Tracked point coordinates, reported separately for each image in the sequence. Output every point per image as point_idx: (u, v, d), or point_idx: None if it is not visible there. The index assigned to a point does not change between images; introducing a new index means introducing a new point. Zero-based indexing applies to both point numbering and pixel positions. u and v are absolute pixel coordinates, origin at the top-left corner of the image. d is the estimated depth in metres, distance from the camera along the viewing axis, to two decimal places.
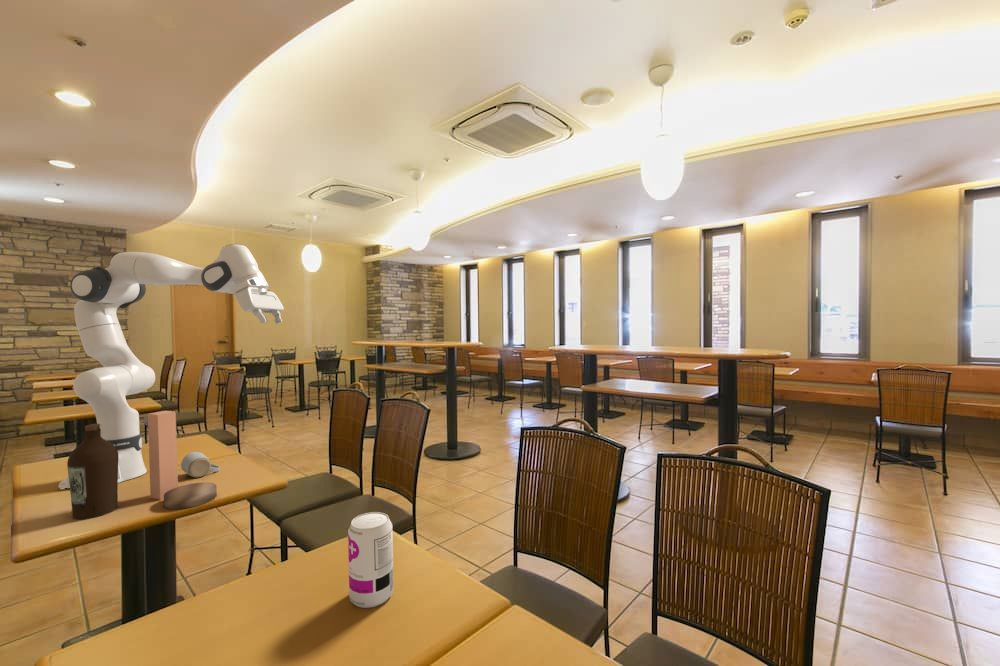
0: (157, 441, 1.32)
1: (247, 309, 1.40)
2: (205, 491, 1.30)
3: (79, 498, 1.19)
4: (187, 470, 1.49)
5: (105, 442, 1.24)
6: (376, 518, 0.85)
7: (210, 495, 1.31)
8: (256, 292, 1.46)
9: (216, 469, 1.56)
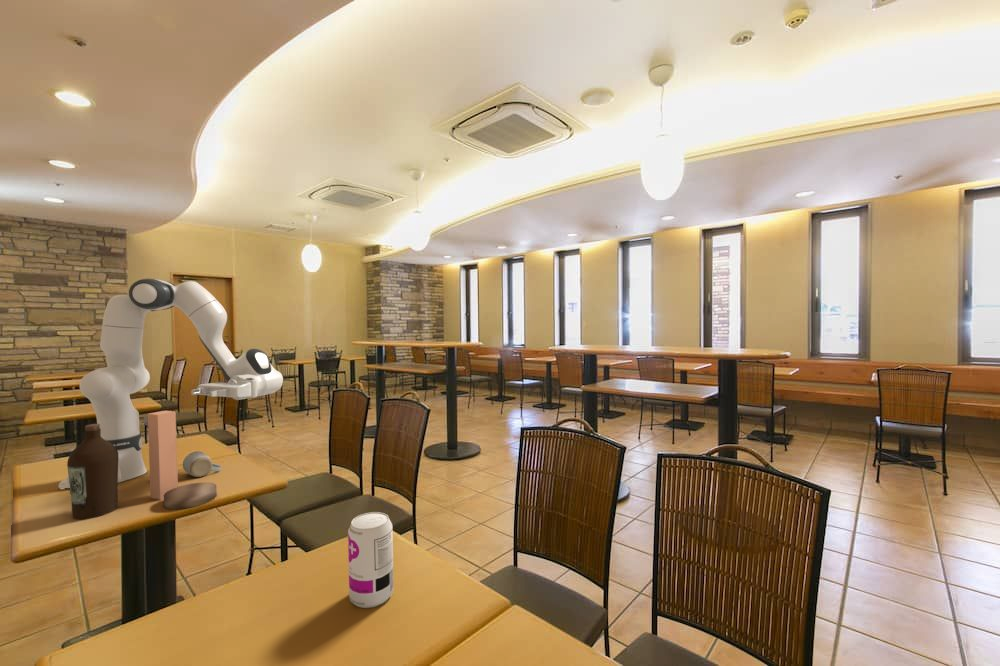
0: (157, 441, 1.32)
1: (235, 390, 1.46)
2: (205, 491, 1.30)
3: (79, 498, 1.19)
4: (189, 470, 1.49)
5: (105, 442, 1.24)
6: (376, 518, 0.85)
7: (210, 495, 1.31)
8: None
9: (217, 469, 1.56)
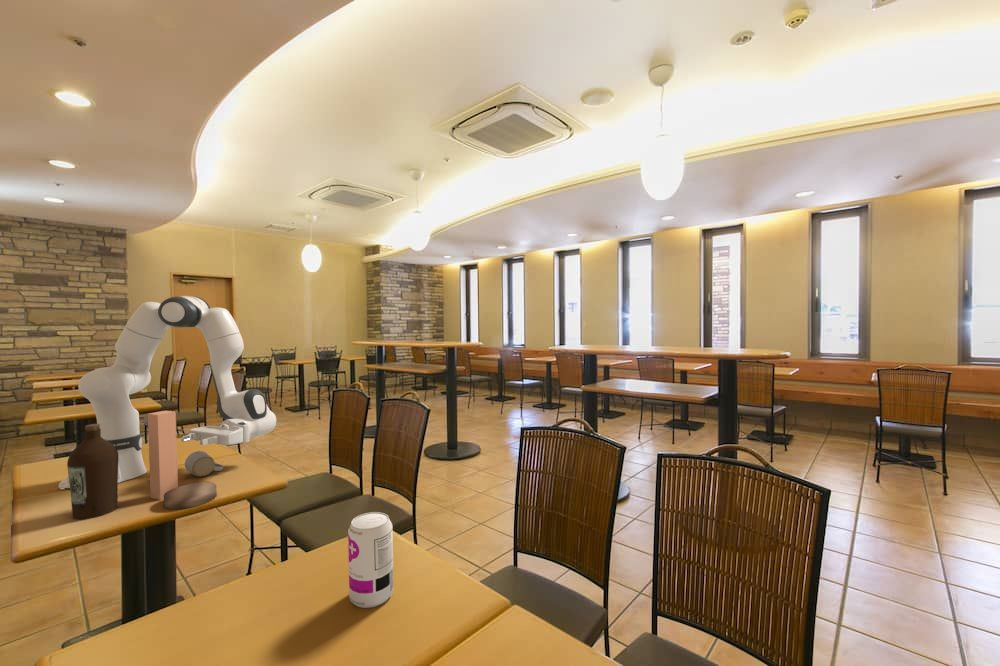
0: (157, 441, 1.32)
1: (226, 438, 1.44)
2: (205, 491, 1.30)
3: (79, 498, 1.19)
4: (191, 469, 1.50)
5: (105, 442, 1.24)
6: (376, 518, 0.85)
7: (210, 495, 1.31)
8: None
9: (220, 468, 1.56)
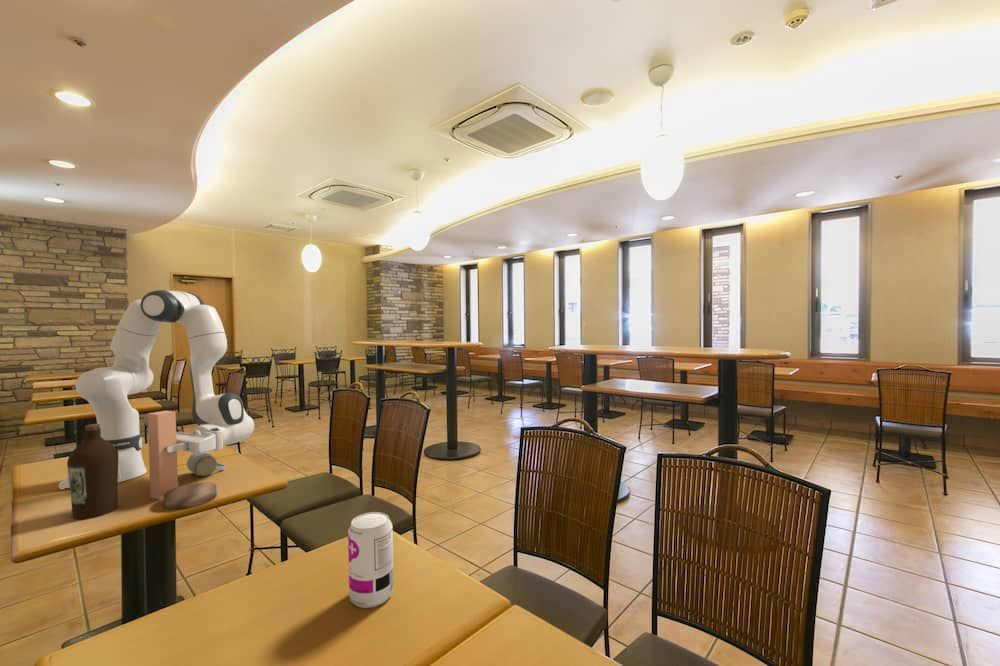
0: (157, 441, 1.32)
1: (196, 445, 1.35)
2: (205, 491, 1.30)
3: (79, 498, 1.19)
4: (193, 469, 1.50)
5: (105, 442, 1.24)
6: (376, 518, 0.85)
7: (210, 495, 1.31)
8: None
9: (222, 468, 1.57)
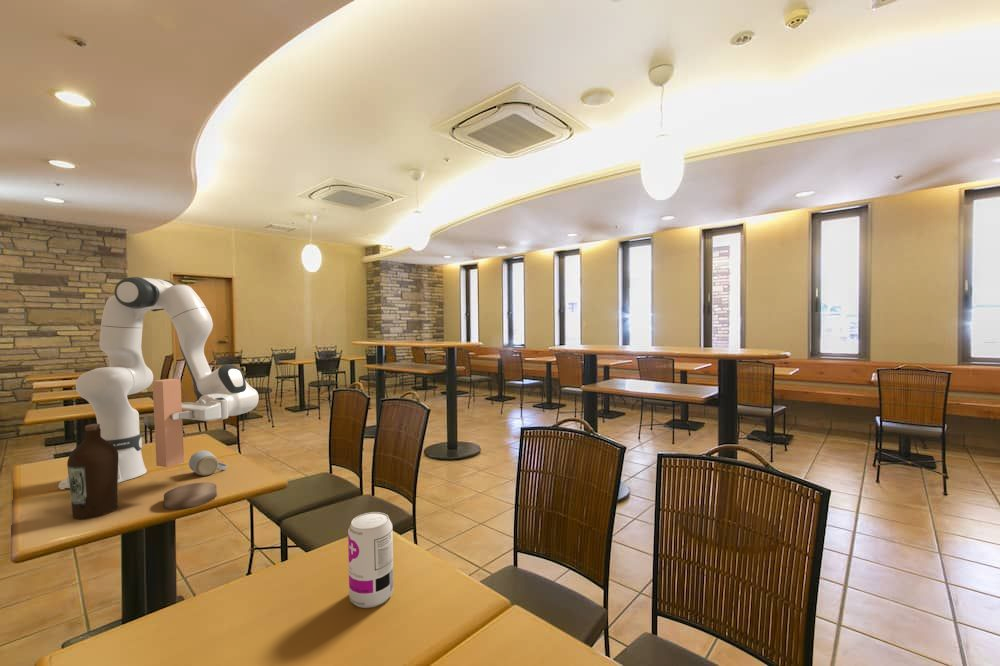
0: (162, 408, 1.31)
1: (202, 413, 1.34)
2: (205, 491, 1.30)
3: (79, 498, 1.19)
4: (195, 468, 1.50)
5: (105, 442, 1.24)
6: (376, 518, 0.85)
7: (210, 495, 1.31)
8: None
9: (223, 467, 1.57)
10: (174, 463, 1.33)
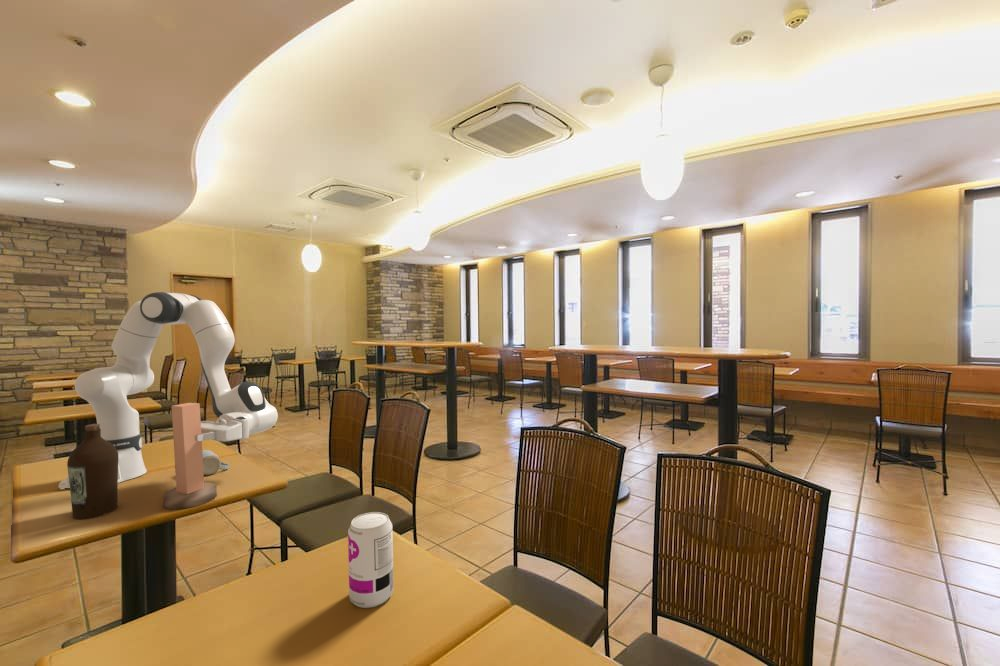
0: (182, 434, 1.28)
1: (223, 434, 1.31)
2: (205, 491, 1.30)
3: (79, 498, 1.19)
4: None
5: (105, 442, 1.24)
6: (376, 518, 0.85)
7: (210, 495, 1.31)
8: None
9: (226, 467, 1.58)
10: (194, 489, 1.30)
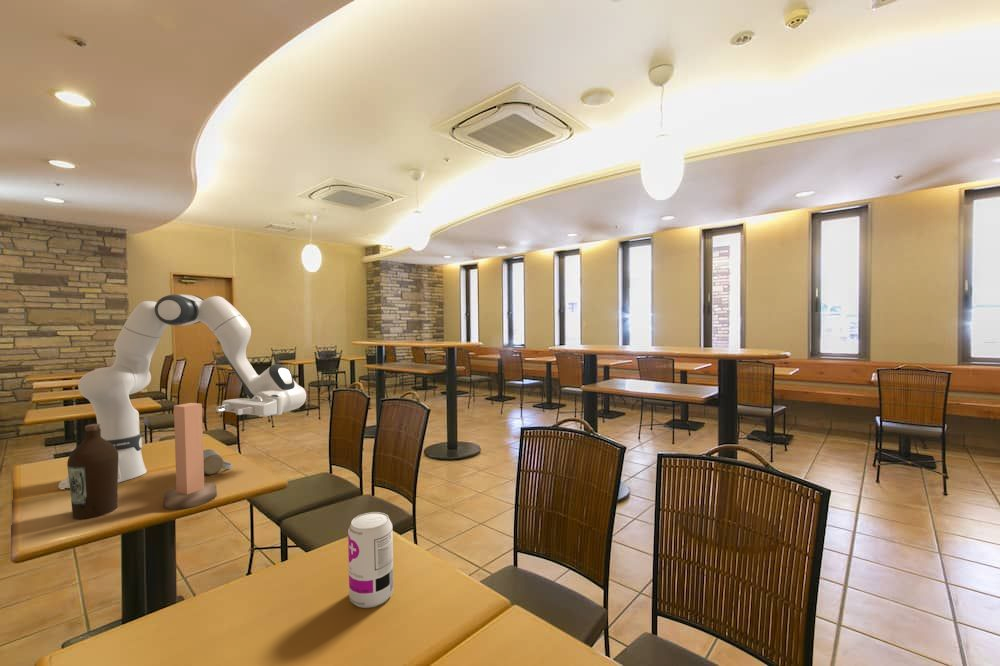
0: (184, 434, 1.28)
1: (261, 409, 1.43)
2: (205, 491, 1.30)
3: (79, 498, 1.19)
4: None
5: (105, 442, 1.24)
6: (376, 518, 0.85)
7: (210, 495, 1.31)
8: None
9: (228, 466, 1.58)
10: (194, 490, 1.30)
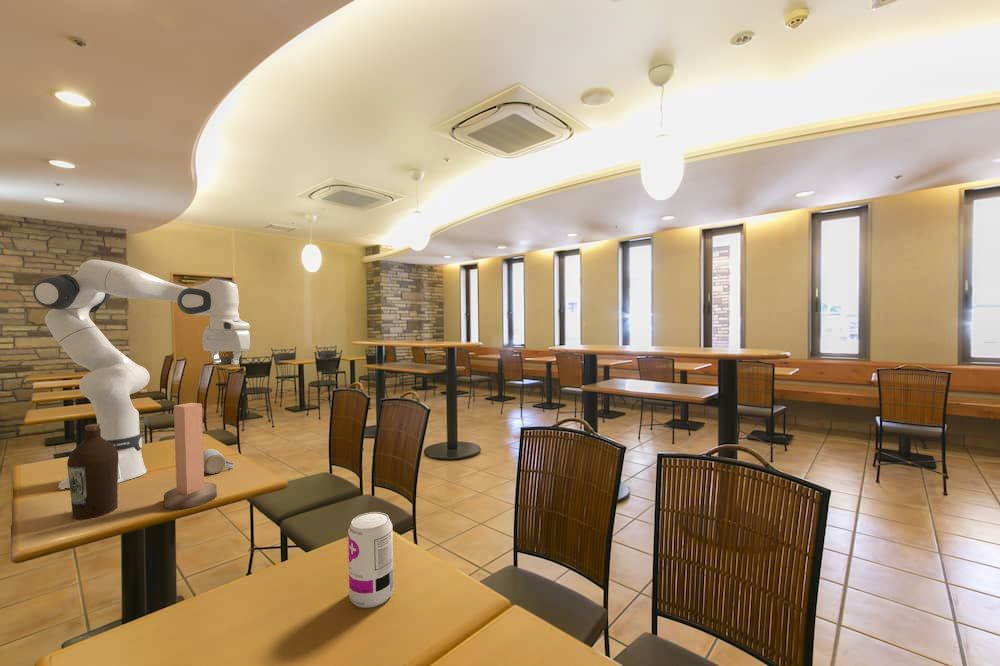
0: (184, 434, 1.28)
1: (243, 350, 1.49)
2: (205, 491, 1.30)
3: (79, 498, 1.19)
4: None
5: (105, 442, 1.24)
6: (376, 518, 0.85)
7: (210, 495, 1.31)
8: None
9: (231, 466, 1.59)
10: (194, 490, 1.30)
